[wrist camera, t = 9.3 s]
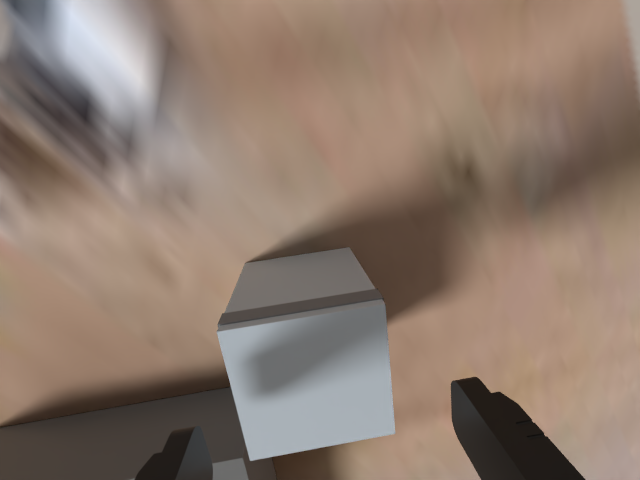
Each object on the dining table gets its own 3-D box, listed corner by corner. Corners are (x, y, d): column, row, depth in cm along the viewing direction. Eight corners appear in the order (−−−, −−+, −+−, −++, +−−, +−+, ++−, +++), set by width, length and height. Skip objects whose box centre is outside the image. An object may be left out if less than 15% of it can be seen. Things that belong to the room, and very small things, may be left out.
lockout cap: (263, 353, 19) (249, 462, 12) (244, 262, 17) (215, 330, 11) (359, 336, 19) (396, 434, 13) (349, 246, 18) (386, 302, 11)
